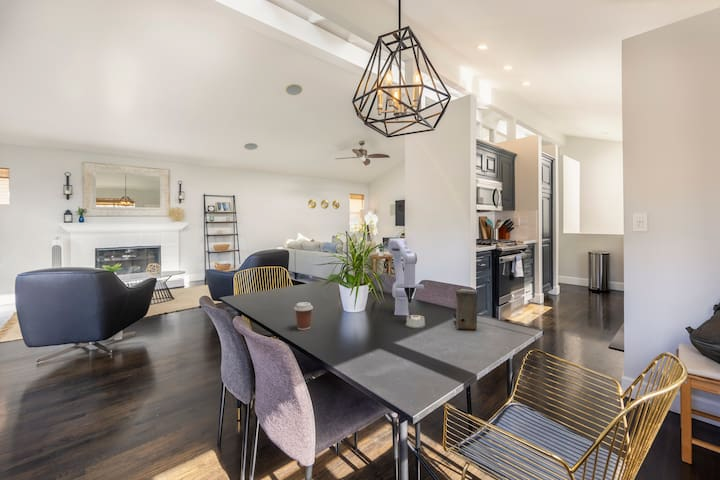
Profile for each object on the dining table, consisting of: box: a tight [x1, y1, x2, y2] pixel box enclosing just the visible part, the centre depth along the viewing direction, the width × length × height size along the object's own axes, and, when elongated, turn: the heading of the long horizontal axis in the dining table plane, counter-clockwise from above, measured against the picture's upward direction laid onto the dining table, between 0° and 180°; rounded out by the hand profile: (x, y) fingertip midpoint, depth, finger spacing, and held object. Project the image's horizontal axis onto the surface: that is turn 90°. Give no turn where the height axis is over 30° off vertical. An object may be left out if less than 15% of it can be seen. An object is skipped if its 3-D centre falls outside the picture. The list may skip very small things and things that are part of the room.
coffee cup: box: [293, 301, 314, 331], centre depth 163 cm, size 9×9×12 cm
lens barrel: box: [405, 314, 427, 330], centre depth 166 cm, size 10×10×4 cm
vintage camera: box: [452, 288, 478, 331], centre depth 166 cm, size 10×16×20 cm, turn 174°
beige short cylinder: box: [411, 314, 422, 319], centre depth 166 cm, size 5×5×4 cm
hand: (409, 302), depth 171 cm, fingers closed
